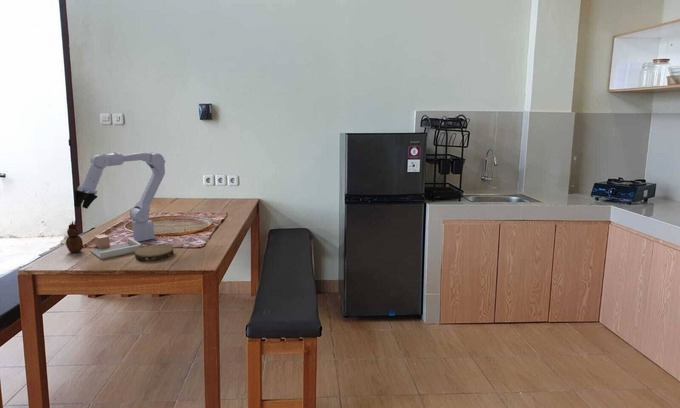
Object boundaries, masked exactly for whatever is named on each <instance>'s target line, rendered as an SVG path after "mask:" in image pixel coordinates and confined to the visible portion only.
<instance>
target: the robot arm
mask: <svg viewBox="0 0 680 408" xmlns="http://www.w3.org/2000/svg"><path fill="white" fill-rule="evenodd" d="M135 161H142V162H145V163H146V164H147V165H148V167H149V168H150V169H151V172H152V174H151V177H150V179H149V180H148V182H147V185H146V186H145V188H144V191H143V193H142V194H141V196H140V199H139V201H138V202H137V203H136V204H135V205H134V207H132V208H131V209H130V211H129V217H130V219H132V221H131V225H132V226H131V227H132V237H130V238H131V239H133V240H135V241H137V242H138V243H140V242H142V241H148V240H149V241H150V240H155V239H156V237H155V226H154V223H153V221H152V220H151V219H149V218H150V217H149V216H150V211H151V206H150V205H151V203H152V202H153V200H154V198H155V195H156V193H157V191H158V190H159V187H160V185H161V182H162V181H163V178H164V176H166V175H165V174H166V168H165V167H166V166H165V165H166V164H165V163H166V160H165V157H164V156H163V155H162V154H160V153H157V152H151V151H149V152H145V151H144V152H135V153H128V154H122V153H121V152H117V151H113V152H112V153H102V154H94V156H91V158H90V165H89V167H88V170H87V173H86V175H85V178H84V180H83V182H82V185H78V187H77V189H74V191H73V192H74V204H73V205H74V207H77V208H80V207H81V206H82V208H83V209H89V207H90V206H91V205H92V203H93V202H94V201H95V200H96V199H97V198H98V195H97V193H98V190H97V187H98V184H99V182H100V179H101V176H102V174H103V171H104V169H105V168H106V167H113V166H115V167H116V166H121V165H123V164H124V163H125V162H135Z"/></svg>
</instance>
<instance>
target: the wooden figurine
mask: <svg viewBox="0 0 680 408" xmlns="http://www.w3.org/2000/svg"><path fill="white" fill-rule="evenodd" d="M77 226H78V225H77V220H76V219H75V220H74V221H73V220H72V221H71V223H69V224H68V228H67V231H66V233H67V236H68V237H67V238H66V240H65V247H66V248H67V250H68V251H69V253H72V254H77V253H80V252H81V251H82V250H83V246H84V244H83V242H84V241H83V239H82V237H81V236H80V235H79V234H80V230H79V228H78V227H77Z"/></svg>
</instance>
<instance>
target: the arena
mask: <svg viewBox="0 0 680 408" xmlns="http://www.w3.org/2000/svg"><path fill="white" fill-rule="evenodd" d="M131 238H132V237H127V243H122V244H115V245H110V247H105V248H95V249H92V250H89V252H90V253H91V254H92V255H94V256H96V258H99V259H100V260H105V259H110V258H111V259H112V258H115V257H116V258H117V257H120V256H124V255H129V254H135V251H136V250H138V249H140V248H142V247H143V244H142V243H140V242H137V241H135V240H133V239H131Z"/></svg>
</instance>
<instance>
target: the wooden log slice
mask: <svg viewBox="0 0 680 408" xmlns="http://www.w3.org/2000/svg"><path fill="white" fill-rule="evenodd" d="M173 255H174V247H173V246H171V245H169V244H154V245H147V246H142V248H140V249H138V250H136V251H135V253H134V258H135V260H136V261H139V262H144V263H145V262H148V263H150V262H158V261H159V262H160V261H163V260H167V259H169V258H172V257H173Z"/></svg>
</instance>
